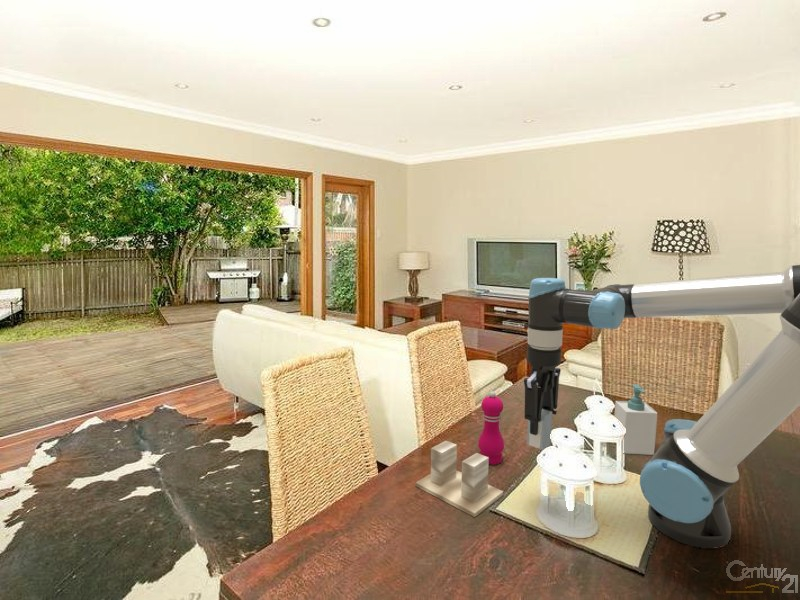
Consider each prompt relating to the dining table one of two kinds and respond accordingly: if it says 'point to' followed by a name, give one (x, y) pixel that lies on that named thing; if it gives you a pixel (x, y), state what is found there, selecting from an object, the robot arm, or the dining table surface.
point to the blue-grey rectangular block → (543, 428)
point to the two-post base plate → (459, 480)
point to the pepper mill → (491, 429)
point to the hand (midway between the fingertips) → (539, 442)
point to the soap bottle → (637, 424)
